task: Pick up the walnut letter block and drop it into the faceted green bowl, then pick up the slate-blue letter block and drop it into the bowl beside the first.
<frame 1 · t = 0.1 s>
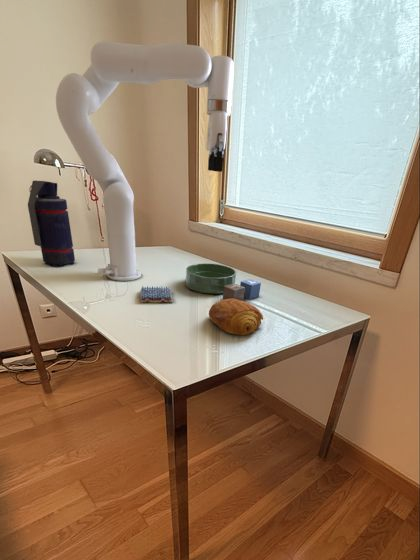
hand: (214, 171, 109), 37 cm above the table, tool pointing down, fingers open, 9 cm apart
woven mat: (156, 297, 105), on the table
walnut block: (232, 300, 107), on the table
croissant: (235, 325, 91), on the table
faceted green bowl: (210, 286, 118), on the table
grenade: (57, 264, 130), on the table
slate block: (249, 295, 112), on the table
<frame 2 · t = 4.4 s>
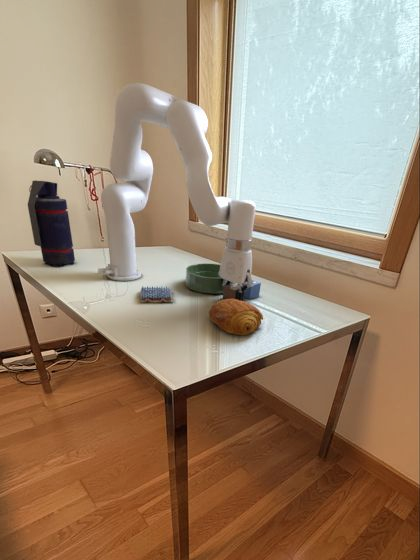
hand: (232, 299, 106), 0 cm above the table, tool pointing down, fingers closed on walnut block, 5 cm apart
walnut block: (232, 300, 107), on the table, touching gripper
everything else where it was.
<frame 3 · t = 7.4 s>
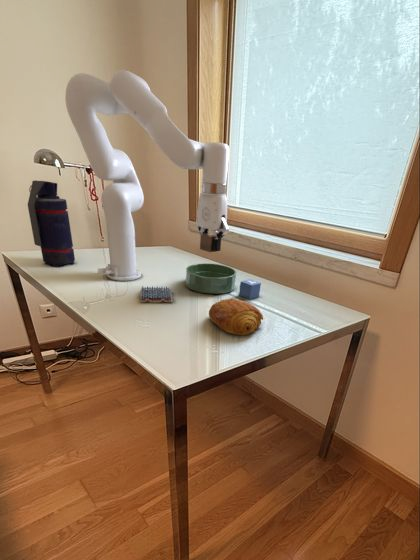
hand: (210, 248, 108), 14 cm above the table, tool pointing down, fingers closed on walnut block, 5 cm apart
walnut block: (210, 250, 108), point 14 cm above the table, touching gripper
everything else where it was.
when the fingers open (2 cm above the table, at t = 10.6 s): walnut block stays where it is, resting on faceted green bowl.
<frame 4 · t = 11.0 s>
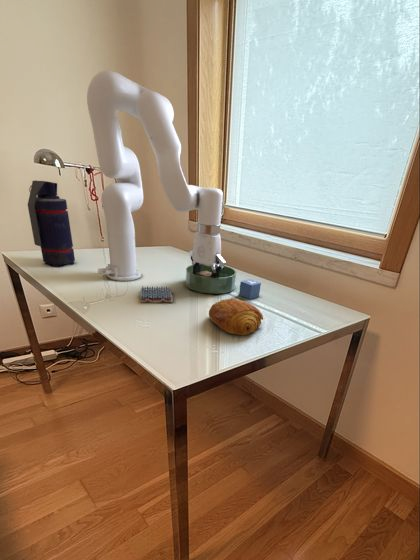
hand: (205, 279, 114), 3 cm above the table, tool pointing down, fingers open, 9 cm apart
walnut block: (205, 286, 116), resting on faceted green bowl
everything else where it was.
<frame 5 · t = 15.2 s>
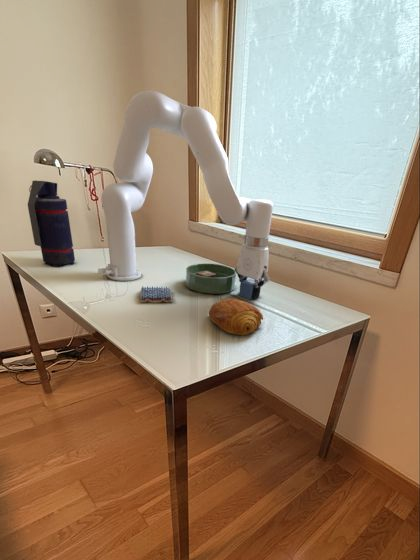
hand: (249, 294, 112), 0 cm above the table, tool pointing down, fingers closed on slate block, 5 cm apart
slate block: (249, 295, 112), on the table, touching gripper
everything else where it was.
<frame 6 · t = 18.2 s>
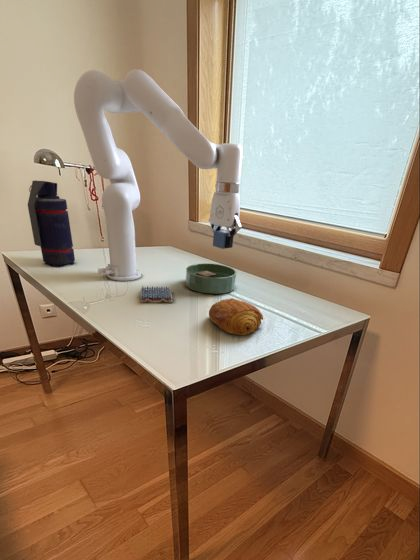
hand: (222, 245, 112), 15 cm above the table, tool pointing down, fingers closed on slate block, 5 cm apart
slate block: (222, 246, 113), point 14 cm above the table, touching gripper
everything else where it was.
when the fingers open (2 cm above the table, at t = 21.5 s): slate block stays where it is, resting on faceted green bowl.
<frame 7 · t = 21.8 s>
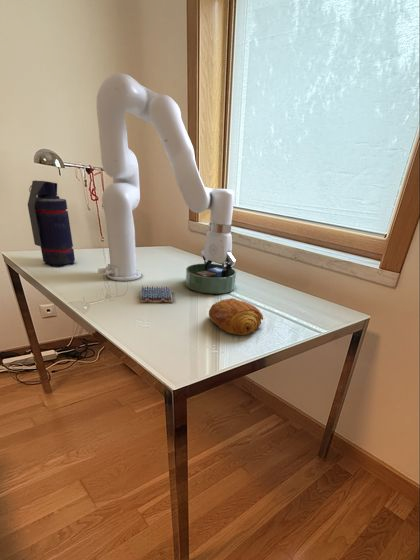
hand: (216, 277, 119), 3 cm above the table, tool pointing down, fingers open, 8 cm apart
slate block: (216, 282, 120), resting on faceted green bowl
everything else where it was.
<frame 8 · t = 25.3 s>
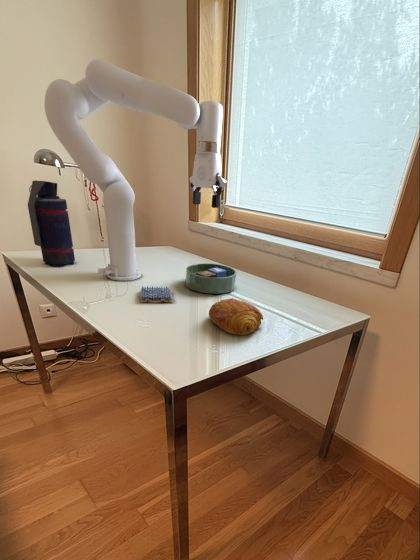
hand: (205, 205, 113), 26 cm above the table, tool pointing down, fingers open, 9 cm apart
nothing on the table moved.
at the end: walnut block inside the target area in the faceted green bowl (3.0 cm from its centre), point 0.5 cm above the faceted green bowl's base; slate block inside the target area in the faceted green bowl (3.5 cm from its centre), point 0.5 cm above the faceted green bowl's base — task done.
